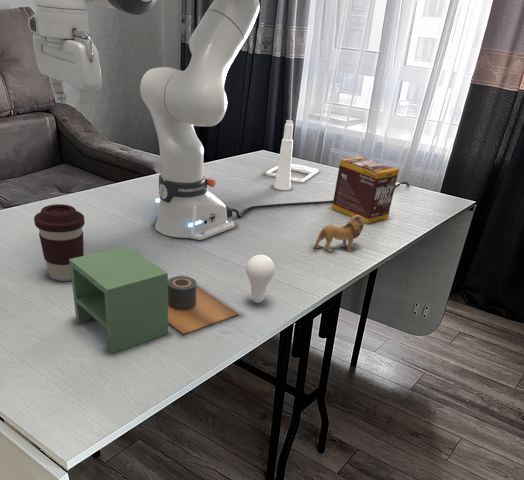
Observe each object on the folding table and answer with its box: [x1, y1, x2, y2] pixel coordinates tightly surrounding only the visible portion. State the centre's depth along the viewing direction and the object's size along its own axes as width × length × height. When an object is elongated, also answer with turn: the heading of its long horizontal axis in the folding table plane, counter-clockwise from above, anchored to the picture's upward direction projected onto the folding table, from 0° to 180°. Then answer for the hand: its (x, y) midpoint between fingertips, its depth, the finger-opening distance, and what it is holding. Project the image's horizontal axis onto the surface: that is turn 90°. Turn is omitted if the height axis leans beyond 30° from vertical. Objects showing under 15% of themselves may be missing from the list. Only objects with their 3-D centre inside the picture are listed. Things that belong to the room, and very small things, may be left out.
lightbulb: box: [245, 254, 276, 304], centre depth 115 cm, size 6×6×11 cm
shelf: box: [69, 245, 169, 354], centre depth 101 cm, size 12×14×13 cm
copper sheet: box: [168, 285, 239, 336], centre depth 114 cm, size 14×20×1 cm
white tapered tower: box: [273, 119, 294, 191], centre depth 182 cm, size 6×6×22 cm
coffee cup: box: [33, 203, 85, 282], centre depth 117 cm, size 10×10×15 cm
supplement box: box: [331, 156, 400, 225], centre depth 169 cm, size 10×15×16 cm
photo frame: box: [265, 162, 320, 184], centre depth 204 cm, size 15×1×18 cm
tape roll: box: [168, 275, 198, 310], centre depth 113 cm, size 6×6×5 cm
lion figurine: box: [312, 215, 365, 253], centre depth 145 cm, size 15×5×9 cm, turn 116°
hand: (71, 107), depth 106 cm, fingers open, 8 cm apart
